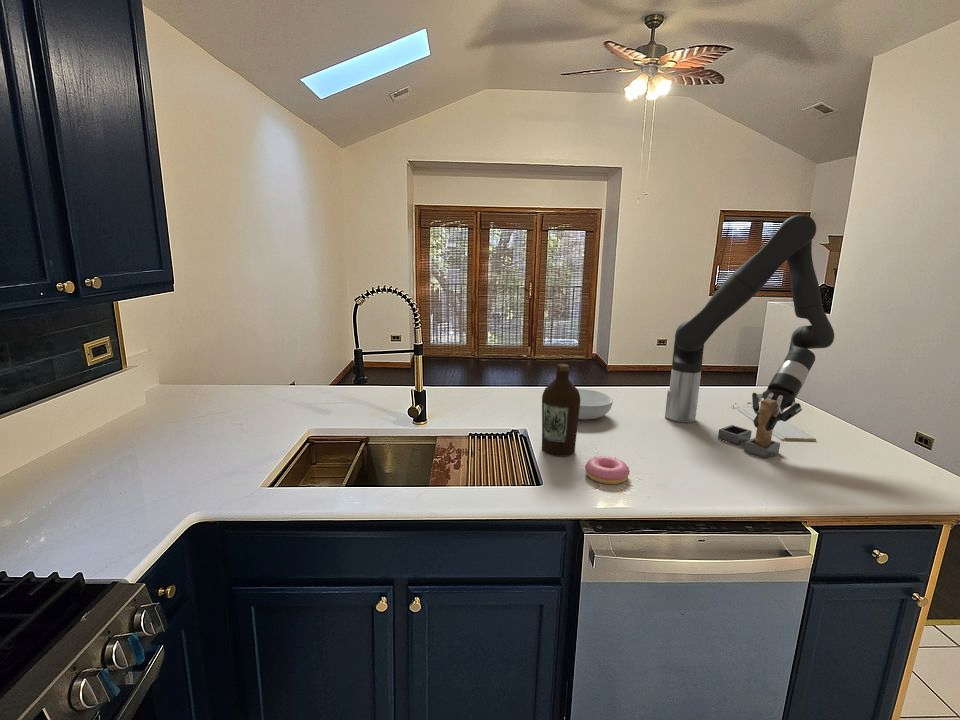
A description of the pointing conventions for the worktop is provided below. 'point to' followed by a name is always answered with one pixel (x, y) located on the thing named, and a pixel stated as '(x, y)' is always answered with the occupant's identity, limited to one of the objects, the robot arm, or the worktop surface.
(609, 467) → the doughnut
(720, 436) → the endcap
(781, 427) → the baseboard
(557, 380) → the olive oil
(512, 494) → the worktop surface
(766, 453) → the endcap
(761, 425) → the slat
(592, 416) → the serving bowl
